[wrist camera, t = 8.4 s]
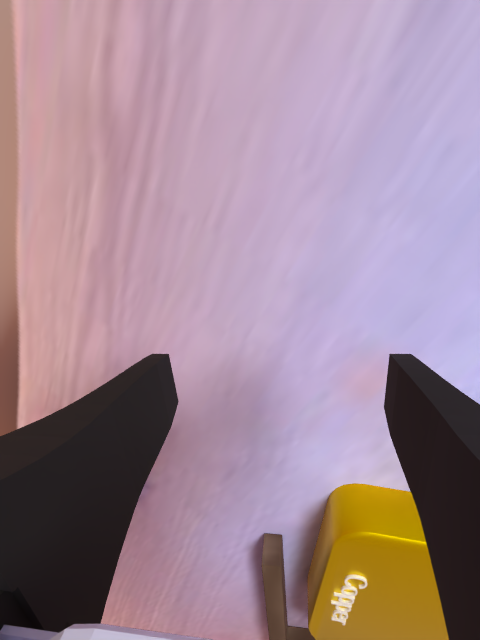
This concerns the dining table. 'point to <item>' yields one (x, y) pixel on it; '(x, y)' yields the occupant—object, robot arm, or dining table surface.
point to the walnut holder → (277, 592)
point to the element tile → (373, 570)
